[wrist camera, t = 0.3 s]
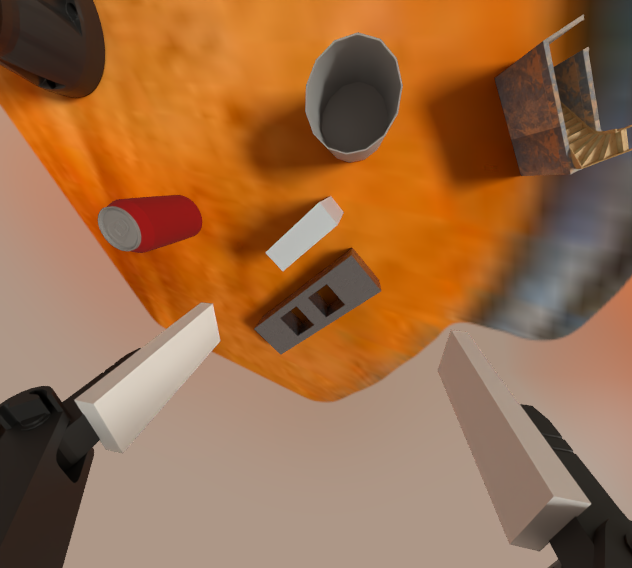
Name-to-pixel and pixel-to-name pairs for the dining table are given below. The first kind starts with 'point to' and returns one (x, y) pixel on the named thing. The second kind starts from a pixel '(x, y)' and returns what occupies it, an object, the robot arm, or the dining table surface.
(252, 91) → the dining table surface
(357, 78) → the cup
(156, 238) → the beverage can
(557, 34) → the ruin model on sheet
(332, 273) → the block with rectangular holes
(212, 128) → the dining table surface
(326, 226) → the upright white panel
